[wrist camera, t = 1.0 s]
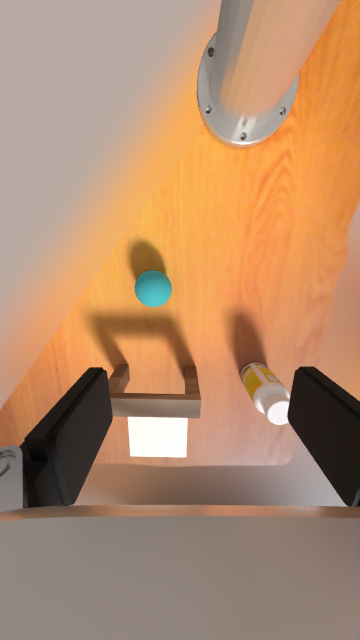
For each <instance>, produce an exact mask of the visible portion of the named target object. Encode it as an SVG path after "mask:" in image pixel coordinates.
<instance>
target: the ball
mask: <svg viewBox="0 0 360 640" xmlns="http://www.w3.org/2000/svg"><path fill="white" fill-rule="evenodd" d="M171 290H172V289H171V283H170V281H169V279H168V277H167V276H166V275H165V274H163V273H162V272H160V271H156V270H149V271H146V272H144V273H142V274H141V275H140V276H139V277H138V279H137V280H136V283H135V293H136V296H137V298H138V299H139V301H140V302H141V303H143V304H144V305H146V306H149V307H158V306H161V305H163V304H164V303H165V302H167V300H168V299H169V297H170V295H171Z"/></svg>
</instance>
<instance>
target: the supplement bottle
mask: <svg viewBox="0 0 360 640" xmlns="http://www.w3.org/2000/svg"><path fill="white" fill-rule="evenodd" d="M241 381H242V383H243V385H244V387H245V388H246V390H247V392H248V394H249V395H250V397H251V399H252V401H253V403H254V404H255V406H256V408H257V409H258V410H259V411H261V412H262V413H264V414H265V415H266V416H267V418H268V419H269V421H270V422H272V423H274V424H277V425H282V424H286V423H288V422H289V421H288V418H287V413H288V407H289V402H290V395H289V392H288V390H287V389H286V388H285V386H284V385H283V384H282V383H281V382H280V381H279V380H278V379H277V377H276V376H275V375H274V374H273V373H272V372H271V371H270V370H269V368H268V367H267V366H265V365H264V364H262V363H258V362H254V363H250V364H248V365H247V366H245V367H244V368H243V370H242V372H241Z"/></svg>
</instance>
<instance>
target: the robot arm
mask: <svg viewBox="0 0 360 640" xmlns="http://www.w3.org/2000/svg"><path fill="white" fill-rule="evenodd" d="M341 1H342V0H222V4H221V10H220V16H219V23H218V30H217V32H216V33H215V34H214V35H213V37H212V38H211V40H210V42H209V43H208V45H207V47H206V49H205V51H204V54H203V56H202V59H201V63H200V66H199V71H198V80H197V100H198V107H199V110H200V114H201V117H202V119H203V121H204V124H205V126H206V127H207V128H208V130H209V131H210V133H211V134H212V135H213V136H214V137H215V138H216V139H217V140H219V141H220V142H222V143H224V144H225V145H228V146H231V147H235V148H246V147H252V146H255V145H257V144H260V143H262V142H263V141H265V140H266V139H268V138H269V137H270V136H271V135H272V134H274V133H275V132H276V131H277V129H278V128H279V127H280V125H281V124H282V123H283V121H284V120H285V118H286V117H287V115H288V114H289V111H290V109H291V107H292V105H293V103H294V100H295V96H296V93H297V89H298V82H299V71H300V69H301V68H302V66H303V64H304V63H305V61H306V59H307V58H308V56H309V54H310V53H311V51H312V49H313V48H314V46H315V44H316V43H317V41H318V39H319V38H320V36H321V34H322V33H323V31H324V29H325V28H326V26H327V24H328V22H329V21H330V19H331V17H332V16H333V14H334V12H335V11H336V9H337V7H338V6H339V4H340V2H341ZM207 113H208V114H207ZM241 139H242V140H241ZM112 418H113V413H112V406H111V399H110V391H109V384H108V377H107V371H106V370H103V368H102V367H91V368H89V369H88V370H87V371H86V372H85V373H84V374H83V375H82V376H81V377H80V378H79V379H78V381H77V382H76V383H75V384H74V385H73V386H72V387H71V388H70V389H69V390H68V391H67V393H66V394H65V395H64V396H63V397H62V398H61V399H60V400H59V401H58V402H57V403H56V405H55V406H54V407H53V408H52V409H51V410H50V411H49V412H48V413H47V414H46V415H45V417H44V418H43V419H42V420H41V421H40V422H39V423H38V424H37V425H36V426H35V427H34V429H33V430H32V431H31V432H30V433H29V434H28V435H27V436H26V437H25V438H24V439H25V441H24V442H23V443H22V444H21V445H20V447H17V446H6V447H2V448H0V640H360V401H358V400H357V399H356V398H354V397H353V396H352V395H350V394H349V393H348V392H347V391H345V390H344V389H343V388H341V387H340V386H339V385H337V384H336V383H335V382H333V381H332V380H331V379H329V378H328V377H327V376H326V375H324V374H323V373H322V372H320V371H319V370H318V369H316V368H315V367H299V368H298V370H296V371H295V374H294V380H293V385H292V391H291V396H290V402H289V407H288V413H287V418H288V421H289V423H290V424H291V426H292V427H293V429H294V430H295V432H296V433H297V435H298V436H299V438H300V439H301V440H302V442H303V444H304V445H305V446H306V448H307V449H308V451H309V452H310V454H311V455H312V457H313V458H314V460H315V461H316V462H317V464H318V465H319V467H320V468H321V470H322V471H323V473H324V474H325V476H326V477H327V479H328V480H329V482H330V483H331V484H332V486H333V487H334V489H335V490H336V492H337V493H338V495H339V496H340V498H341V499H342V500H343V502H344V503H345V504H346V505H347V506H349V507H335V506H247V505H246V506H245V505H241V506H240V505H234V506H233V505H85V506H70V505H73V504H74V503H75V501H76V499H77V497H78V495H79V493H80V490H81V488H82V486H83V484H84V482H85V480H86V477H87V475H88V473H89V471H90V469H91V466H92V464H93V462H94V460H95V458H96V455H97V453H98V451H99V449H100V447H101V444H102V442H103V440H104V438H105V436H106V433H107V431H108V429H109V427H110V425H111V422H112Z"/></svg>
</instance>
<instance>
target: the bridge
mask: <svg viewBox="0 0 360 640" xmlns="http://www.w3.org/2000/svg"><path fill="white" fill-rule="evenodd" d="M129 380H130V378H129V365H118V366H117V368H116V369H115V371H114V372H113V374H112V375H111V377H110V378H109V380H108V384H109V391H110V399H111V406H112V413H113V416H118V417H165V418H200V408H201V397H200V391H199V384H198V377H197V371H196V367H185V394H146V393H124V390H125V388H126V386H127V384H128V382H129Z"/></svg>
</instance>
